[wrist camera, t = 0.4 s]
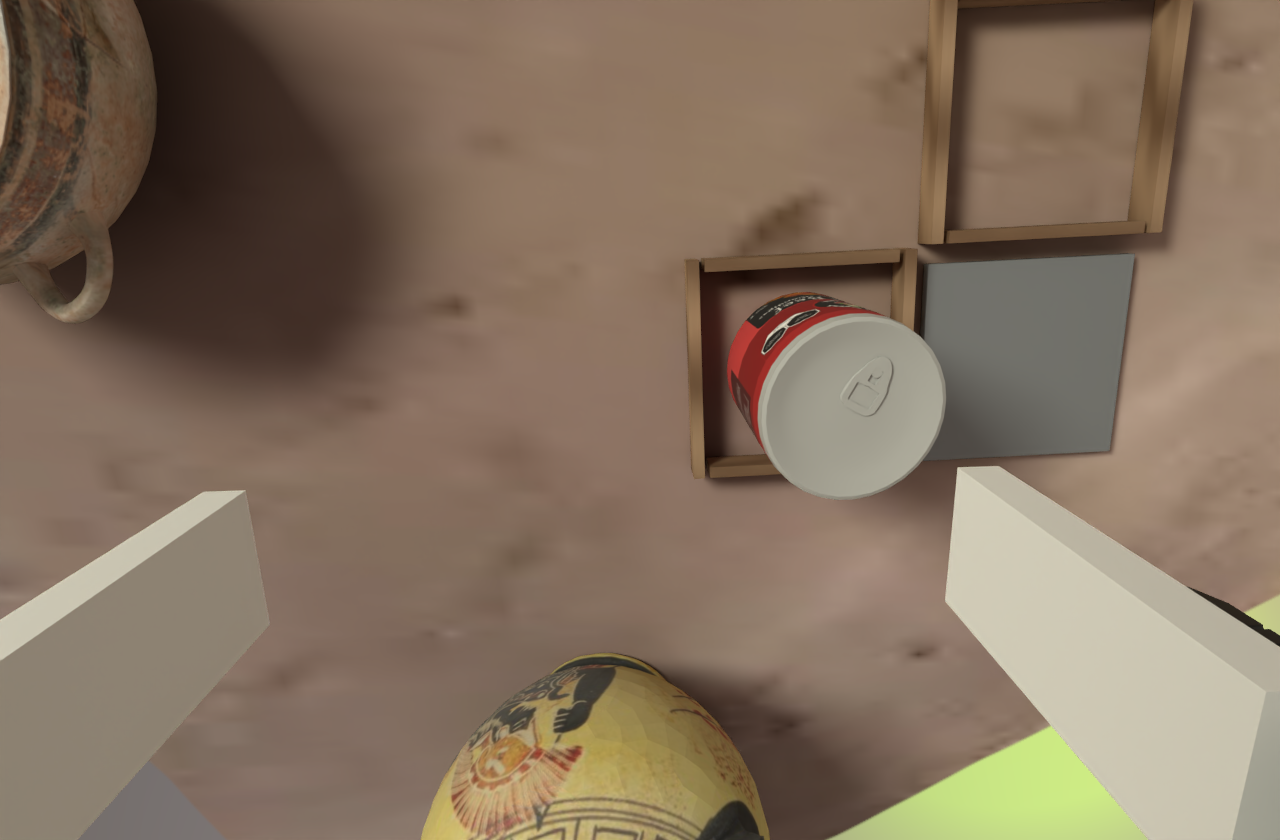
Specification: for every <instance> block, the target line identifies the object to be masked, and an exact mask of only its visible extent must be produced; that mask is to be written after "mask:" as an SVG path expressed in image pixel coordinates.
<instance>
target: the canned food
mask: <svg viewBox="0 0 1280 840" xmlns="http://www.w3.org/2000/svg"><path fill="white" fill-rule="evenodd" d="M727 376H728V383H729V388H730V391H731V394H732V397H733V399H734V401H735V403H736V405H737V406H738V408H739V410H740V411H741V413H742V415H743V416H744V418H745V420H746V422H747V423H748V425H749V427H750V428H751V430H752V432H753V433H754V435H755V437H756V438H757V440H758V442H759V444H760V445H761V447H762V448H763V450H764V452H765V453H766V455H767V456H768V458H769V459H770V460H771V462H772V464H773V465H774V467H775V468H776V469H777V470H778V471H779V472H780V473H781V474H782V475H783V476H784V477H785V478H786V479H787V480H789V482H791V483H792V484H794V485H795V486H797V487H798V488H800V489H801V490H803V491H805V492H808V493H810V494H813V495H815V496H818V497H822V498H828V499H834V500H849V499H858V498H862V497H867V496H871V495H874V494H876V493H879V492H881V491H884V490H886V489H888V488H890V487H891V486H893V485H895V484H896V483H898V482H899V481H901V480H903V479H904V478H905V477H906V476H907V475H909V474H910V473H911V472H912V471H913V470H914V469H915V468H916V467H917V466H918V465H919V464H920V463H921V461H922V460H923V459H924V458H925V456H926V455H927V454H928V453H929V451H930V449H931V448H932V446H933V444H934V442H935V440H936V438H937V436H938V434H939V431H940V428H941V425H942V422H943V419H944V413H945V406H946V388H945V380H944V376H943V373H942V369H941V366H940V364H939V362H938V360H937V358H936V356H935V354H934V352H933V351H932V349H931V348H930V347H929V346H928V345H927V344H926V342H925V341H924V340H923V339H922V338H921V337H920V336H919V335H917V334H916V333H915V332H913V331H912V330H911V329H909V328H908V327H907V326H905V325H904V324H902V323H900V322H898V321H895V320H893V319H891V318H888V317H886V316H884V315H881V314H879V313H876V312H873V311H870V310H867V309H864V308H861V307H858V306H855V305H852V304H849V303H847V302H844V301H841V300H838V299H835V298H832V297H829V296H826V295H822V294H817V293H811V292H801V293H792V294H788V295H783V296H780V297H778V298H776V299H774V300H771V301H769V302H767V303H766V304H764V305H763V306H762V307H760V308H759V309H757V310H756V311H755V312H754V313H753V314H752V315H751V316H750V317H749V318H748V319H747V320H746V321H745V322H744V324H743V325H742V327H741V328H740V330H739V331H738V332H737V334H736V337H735V339H734V341H733V343H732V345H731V349H730V353H729V357H728V367H727Z"/></svg>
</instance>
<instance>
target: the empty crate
mask: <svg viewBox="0 0 1280 840" xmlns="http://www.w3.org/2000/svg"><path fill="white" fill-rule="evenodd" d="M1099 1H1119V0H930V11H929V30H928V50H927V70H926V90H925V109H924V129H923V149H922V168H921V188H920V208H919V228H918V243H919V244H943V243H966V242H985V241H1004V240H1023V239H1043V238H1062V237H1081V236H1100V235H1119V234H1139V233H1158V232H1162V225H1163V218H1164V211H1165V203H1166V196H1167V189H1168V181H1169V174H1170V167H1171V160H1172V152H1173V145H1174V138H1175V130H1176V123H1177V116H1178V109H1179V101H1180V94H1181V87H1182V80H1183V72H1184V65H1185V58H1186V50H1187V43H1188V36H1189V29H1190V21H1191V14H1192V7H1193V0H1155V5H1154V13H1153V21H1152V29H1151V37H1150V45H1149V53H1148V61H1147V69H1146V77H1145V85H1144V93H1143V101H1142V109H1141V117H1140V125H1139V134H1138V142H1137V150H1136V158H1135V166H1134V174H1133V182H1132V190H1131V198H1130V206H1129V214H1128V221H1117V222H1097V223H1078V224H1059V225H1040V226H1020V227H1001V228H982V229H963V230H944V223H945V206H946V189H947V173H948V156H949V139H950V123H951V106H952V89H953V72H954V56H955V39H956V22H957V9H960V8H980V7H1000V6H1019V5H1039V4H1059V3H1079V2H1099Z"/></svg>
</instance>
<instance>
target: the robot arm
mask: <svg viewBox="0 0 1280 840" xmlns="http://www.w3.org/2000/svg"><path fill="white" fill-rule="evenodd" d="M945 601H946V603H947V604H948V605H949V606H950V607H951V608H952V610H953V611H954V612H955V613H956V614H957V616H958V617H959V618H960V619H961V620H962V621H963V623H964V624H965V625H966V626H967V627H968V628H969V630H970V631H971V632H972V633H973V634H974V635H975V637H976V638H977V639H978V640H979V641H980V643H981V644H982V645H983V646H984V647H985V648H986V650H987V651H988V652H989V653H990V654H991V655H992V657H993V658H994V659H995V660H996V661H997V662H998V664H999V665H1000V666H1001V667H1002V668H1003V670H1004V671H1005V672H1006V673H1007V674H1008V675H1009V677H1010V678H1011V679H1012V680H1013V681H1014V682H1015V684H1016V685H1017V686H1018V687H1019V688H1020V690H1021V691H1022V692H1023V693H1024V694H1025V695H1026V697H1027V698H1028V699H1029V700H1030V701H1031V702H1032V704H1033V705H1034V706H1035V707H1036V708H1037V709H1038V711H1039V712H1040V713H1041V714H1042V715H1043V717H1044V718H1045V719H1046V720H1047V721H1048V722H1049V724H1050V725H1051V726H1052V727H1053V728H1054V729H1055V731H1056V732H1057V733H1058V734H1059V735H1060V737H1061V738H1062V739H1063V740H1064V741H1065V742H1066V743H1067V745H1068V746H1069V747H1070V748H1071V749H1072V751H1073V752H1074V753H1075V754H1076V755H1077V756H1078V758H1079V759H1080V760H1081V761H1082V762H1083V763H1084V765H1085V766H1086V767H1087V768H1088V769H1089V771H1091V773H1092V774H1093V775H1094V776H1095V778H1096V779H1097V780H1098V781H1099V782H1100V783H1101V785H1102V786H1103V787H1104V788H1105V789H1106V790H1107V792H1108V793H1109V794H1110V795H1111V796H1112V798H1113V799H1114V800H1115V801H1116V802H1117V803H1118V805H1119V806H1120V807H1121V808H1122V809H1123V811H1124V812H1125V813H1126V814H1127V815H1128V816H1129V818H1130V819H1131V820H1132V821H1133V822H1134V823H1135V825H1136V826H1137V827H1138V828H1139V829H1140V830H1141V832H1142V833H1143V834H1144V835H1145V836H1146V838H1147V839H1148V840H1280V635H1278V634H1276V633H1275V632H1273V631H1272V630H1270V629H1264V628H1263V625H1262V624H1261V623H1259V622H1257V621H1256V620H1254V619H1253V618H1251V617H1249V616H1248V615H1246V614H1245V613H1243V612H1241V611H1240V610H1238V609H1237V608H1235V607H1233V606H1232V605H1230V604H1229V603H1226V602H1224V601H1222V600H1219V599H1217V598H1214V597H1212V596H1209V595H1207V594H1204V593H1202V592H1200V591H1197V590H1195V589H1192V588H1190V587H1187V586H1185V585H1183V584H1181V583H1180V582H1178V581H1177V580H1175V579H1173V578H1172V577H1170V576H1169V575H1167V574H1166V573H1164V572H1163V571H1161V570H1160V569H1158V568H1156V567H1155V566H1153V565H1152V564H1150V563H1149V562H1147V561H1146V560H1144V559H1142V558H1141V557H1139V556H1138V555H1136V554H1135V553H1133V552H1132V551H1130V550H1128V549H1127V548H1125V547H1124V546H1122V545H1121V544H1119V543H1118V542H1116V541H1114V540H1113V539H1111V538H1110V537H1108V536H1107V535H1105V534H1104V533H1102V532H1100V531H1099V530H1097V529H1096V528H1094V527H1093V526H1091V525H1090V524H1088V523H1086V522H1085V521H1083V520H1082V519H1080V518H1079V517H1077V516H1076V515H1074V514H1073V513H1071V512H1069V511H1068V510H1066V509H1065V508H1063V507H1062V506H1060V505H1059V504H1057V503H1055V502H1054V501H1052V500H1051V499H1049V498H1048V497H1046V496H1045V495H1043V494H1041V493H1040V492H1038V491H1037V490H1035V489H1034V488H1032V487H1031V486H1029V485H1027V484H1026V483H1024V482H1023V481H1021V480H1020V479H1018V478H1017V477H1015V476H1013V475H1012V474H1010V473H1009V472H1007V471H1006V470H1004V469H1003V468H1001V467H999V466H983V467H958V469H957V479H956V490H955V501H954V512H953V522H952V533H951V544H950V555H949V565H948V576H947V587H946V598H945ZM269 625H270V622H269V616H268V611H267V605H266V600H265V594H264V589H263V583H262V578H261V572H260V567H259V561H258V556H257V550H256V545H255V539H254V534H253V528H252V523H251V517H250V512H249V506H248V501H247V496H246V490H244V491H213V492H202V493H201V494H199V495H198V496H196V497H195V498H193V499H191V500H190V501H188V502H187V503H185V504H183V505H182V506H180V507H179V508H177V509H175V510H174V511H172V512H171V513H169V514H167V515H166V516H164V517H163V518H161V519H160V520H158V521H156V522H155V523H153V524H152V525H150V526H148V527H147V528H145V529H144V530H142V531H140V532H139V533H137V534H136V535H134V536H132V537H131V538H129V539H128V540H126V541H125V542H123V543H121V544H120V545H118V546H117V547H115V548H113V549H112V550H110V551H109V552H107V553H105V554H104V555H102V556H101V557H99V558H98V559H96V560H94V561H93V562H91V563H90V564H88V565H86V566H85V567H83V568H82V569H80V570H78V571H77V572H75V573H74V574H72V575H70V576H69V577H67V578H66V579H64V580H63V581H61V582H59V583H58V584H56V585H55V586H53V587H51V588H50V589H48V590H47V591H45V592H43V593H42V594H40V595H39V596H37V597H35V598H34V599H32V600H31V601H29V602H28V603H26V604H24V605H23V606H21V607H20V608H18V609H16V610H15V611H13V612H12V613H10V614H8V615H7V616H5V617H4V618H2V619H1V620H0V840H78V839H79V837H80V836H81V835H82V834H83V833H84V832H85V831H86V829H87V828H88V827H89V826H90V825H91V824H92V823H93V822H94V821H95V820H96V818H97V817H98V816H99V815H100V814H101V813H102V812H103V811H104V809H105V808H106V807H107V806H108V805H109V804H110V803H111V802H112V801H113V799H114V798H115V797H116V796H117V795H118V794H119V793H120V791H121V790H122V789H123V788H124V787H125V786H126V785H127V784H128V783H129V782H130V780H131V779H132V778H133V777H134V776H135V775H136V774H137V772H138V771H139V770H140V769H141V768H142V767H143V766H144V765H145V764H146V762H147V761H148V760H149V759H150V758H151V757H152V756H153V755H154V754H155V752H156V751H157V750H158V749H159V748H160V747H161V746H162V745H163V743H164V742H165V741H166V740H167V739H168V738H169V737H170V736H171V735H172V733H173V732H174V731H175V730H176V729H177V728H178V727H179V726H180V724H181V723H182V722H183V721H184V720H185V719H186V718H187V717H188V716H189V714H190V713H191V712H192V711H193V710H194V709H195V708H196V707H197V705H198V704H199V703H200V702H201V701H202V700H203V699H204V698H205V697H206V695H207V694H208V693H209V692H210V691H211V690H212V689H213V688H214V686H215V685H216V684H217V683H218V682H219V681H220V680H221V679H222V677H223V676H224V675H225V674H226V673H227V672H228V671H229V670H230V669H231V667H232V666H233V665H234V664H235V663H236V662H237V661H238V660H239V658H240V657H241V656H242V655H243V654H244V653H245V652H246V651H247V650H248V648H249V647H250V646H251V645H252V644H253V643H254V642H255V641H256V639H257V638H258V637H259V636H260V635H261V634H262V633H263V632H264V631H265V629H266V628H267V627H268V626H269Z"/></svg>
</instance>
